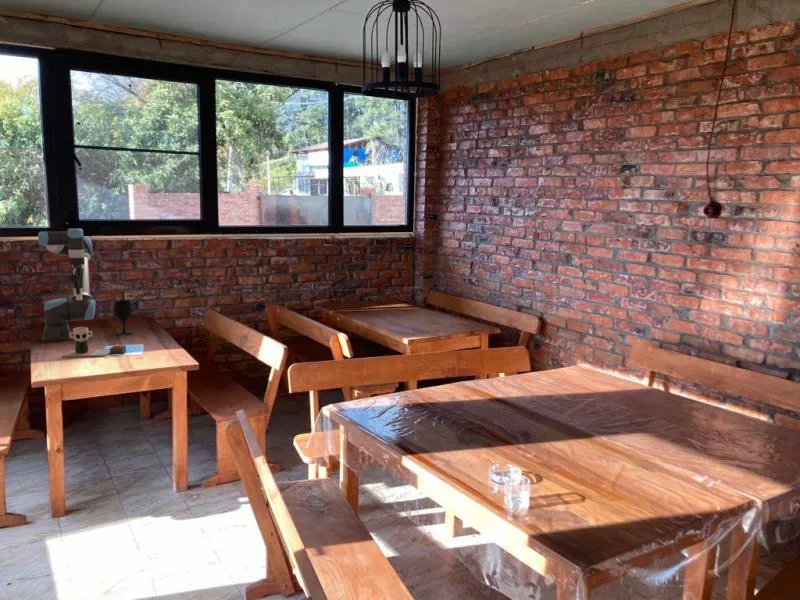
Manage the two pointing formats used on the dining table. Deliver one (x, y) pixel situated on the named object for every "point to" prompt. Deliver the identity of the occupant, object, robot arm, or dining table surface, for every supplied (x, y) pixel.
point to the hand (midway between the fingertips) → (79, 299)
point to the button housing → (117, 350)
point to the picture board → (88, 353)
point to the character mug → (81, 338)
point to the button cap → (118, 346)
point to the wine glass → (123, 314)
